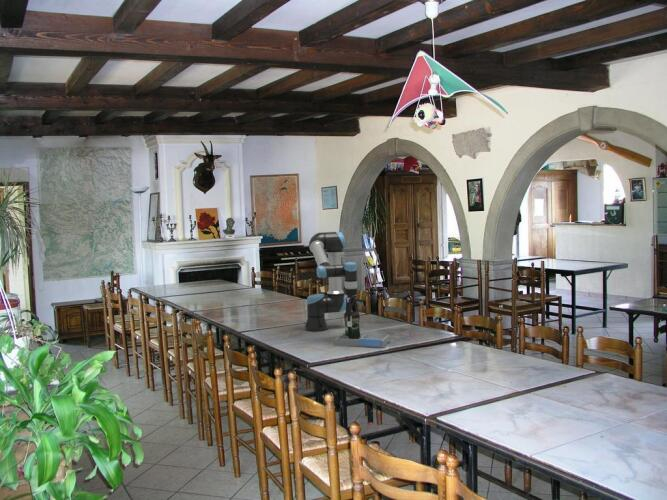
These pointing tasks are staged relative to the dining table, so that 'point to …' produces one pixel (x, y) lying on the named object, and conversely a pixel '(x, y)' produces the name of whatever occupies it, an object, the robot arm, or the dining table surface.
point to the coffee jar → (354, 330)
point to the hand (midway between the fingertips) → (352, 324)
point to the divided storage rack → (361, 341)
